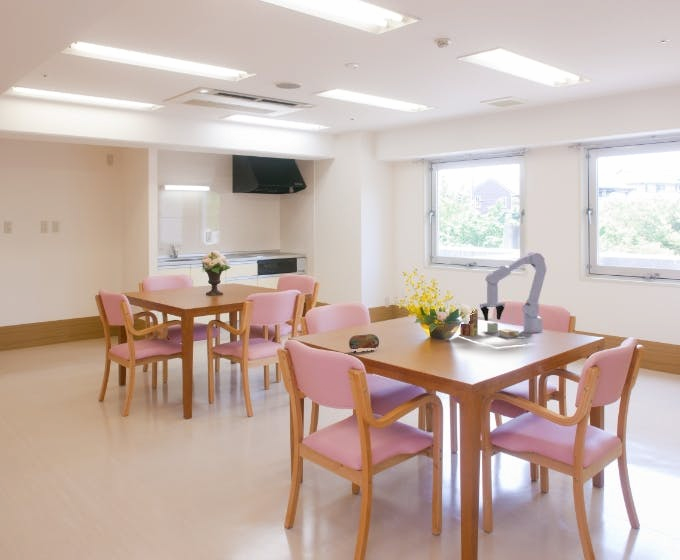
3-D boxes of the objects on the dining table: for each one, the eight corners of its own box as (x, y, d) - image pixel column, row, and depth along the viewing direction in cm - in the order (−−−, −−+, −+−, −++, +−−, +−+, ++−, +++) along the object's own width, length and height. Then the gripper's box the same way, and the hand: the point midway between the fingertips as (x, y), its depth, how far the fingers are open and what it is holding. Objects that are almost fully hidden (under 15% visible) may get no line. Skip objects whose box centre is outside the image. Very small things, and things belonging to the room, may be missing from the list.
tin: (350, 353, 289) (349, 336, 288) (348, 352, 292) (347, 335, 291) (379, 350, 293) (379, 333, 292) (377, 349, 296) (377, 332, 295)
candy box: (478, 337, 319) (478, 309, 318) (473, 338, 317) (473, 309, 315) (465, 335, 326) (464, 307, 325) (460, 336, 323) (459, 308, 322)
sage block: (493, 331, 329) (493, 322, 329) (497, 332, 325) (497, 323, 325) (487, 331, 328) (487, 323, 327) (491, 333, 324) (491, 324, 324)
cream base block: (511, 334, 319) (511, 328, 319) (518, 336, 312) (518, 330, 312) (499, 335, 317) (499, 329, 317) (507, 337, 310) (506, 332, 310)
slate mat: (503, 331, 333) (503, 329, 332) (530, 339, 309) (530, 337, 309) (481, 333, 329) (481, 331, 328) (506, 341, 305) (506, 339, 305)
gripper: (500, 293, 331) (500, 317, 332) (476, 295, 326) (476, 319, 328) (507, 295, 324) (507, 319, 325) (483, 296, 320) (483, 321, 321)
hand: (492, 319), depth 326 cm, fingers open, 7 cm apart
